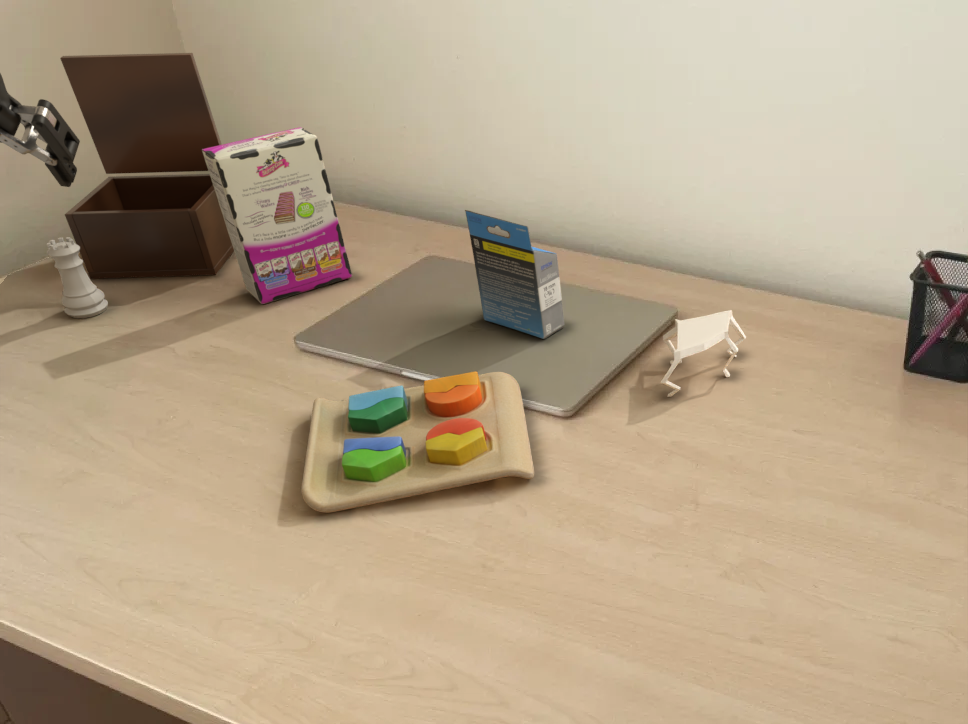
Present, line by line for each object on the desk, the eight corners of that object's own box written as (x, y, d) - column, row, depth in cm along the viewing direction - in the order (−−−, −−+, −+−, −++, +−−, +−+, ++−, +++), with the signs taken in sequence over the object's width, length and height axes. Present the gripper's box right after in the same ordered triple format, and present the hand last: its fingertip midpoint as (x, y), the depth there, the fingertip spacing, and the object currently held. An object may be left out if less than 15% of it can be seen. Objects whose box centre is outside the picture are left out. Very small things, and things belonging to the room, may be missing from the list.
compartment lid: (190, 54, 121) (203, 41, 125) (59, 57, 120) (77, 44, 124) (227, 170, 130) (239, 154, 133) (106, 174, 129) (121, 158, 133)
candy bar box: (336, 265, 127) (301, 124, 117) (354, 278, 124) (320, 135, 114) (243, 292, 121) (198, 146, 111) (260, 306, 118) (215, 158, 108)
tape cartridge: (567, 326, 114) (555, 214, 106) (543, 341, 111) (529, 227, 103) (505, 307, 117) (489, 197, 110) (481, 320, 115) (463, 209, 107)
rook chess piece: (118, 307, 118) (91, 238, 114) (81, 323, 115) (52, 253, 111) (93, 298, 120) (66, 230, 115) (57, 314, 117) (27, 244, 112)
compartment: (215, 275, 125) (195, 210, 120) (90, 279, 125) (64, 214, 120) (247, 234, 135) (229, 173, 130) (131, 237, 135) (108, 176, 130)
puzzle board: (319, 411, 100) (310, 379, 98) (520, 387, 103) (515, 355, 101) (304, 518, 87) (294, 483, 85) (536, 486, 90) (531, 452, 88)
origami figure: (672, 344, 110) (670, 300, 107) (750, 353, 108) (750, 309, 105) (635, 401, 101) (632, 355, 98) (720, 412, 99) (719, 365, 96)
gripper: (30, 30, 92) (108, 152, 107) (-145, 5, 91) (-40, 132, 106) (5, 99, 90) (88, 215, 105) (-175, 75, 88) (-64, 195, 104)
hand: (24, 173), depth 105 cm, fingers open, 8 cm apart
